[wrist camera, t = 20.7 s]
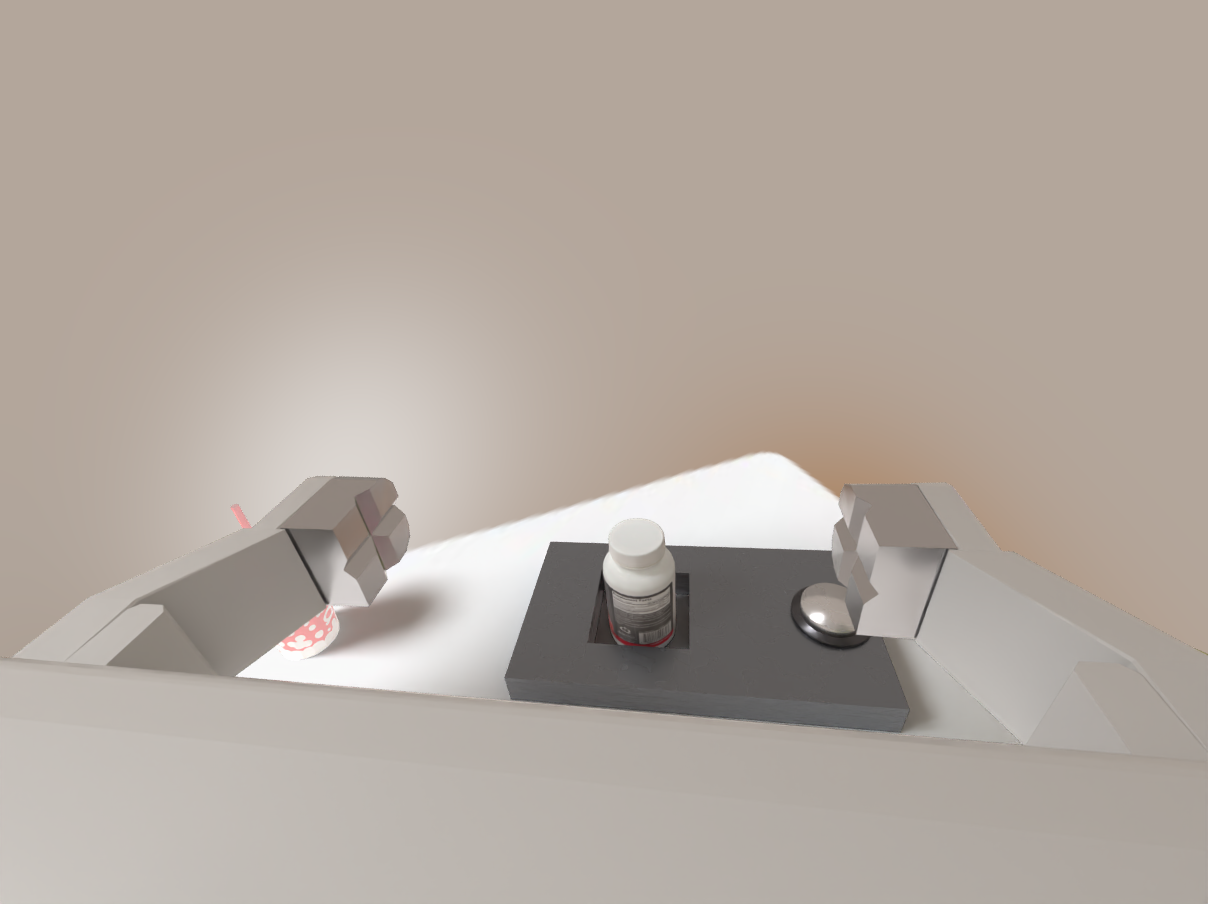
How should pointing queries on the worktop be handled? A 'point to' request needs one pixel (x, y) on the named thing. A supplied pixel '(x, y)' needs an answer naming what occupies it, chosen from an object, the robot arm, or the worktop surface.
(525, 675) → the dark grey holder board
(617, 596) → the pill bottle
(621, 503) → the worktop surface
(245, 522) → the beverage cup
